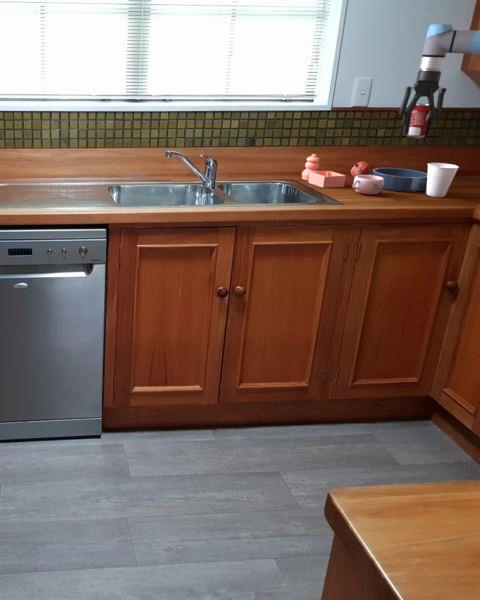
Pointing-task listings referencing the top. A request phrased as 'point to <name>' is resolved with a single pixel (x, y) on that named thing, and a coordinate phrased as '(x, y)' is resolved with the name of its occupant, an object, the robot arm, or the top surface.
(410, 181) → the bowl
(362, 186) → the mug
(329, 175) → the pottery
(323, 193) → the top surface
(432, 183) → the cup
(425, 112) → the soda can
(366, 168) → the pomegranate
